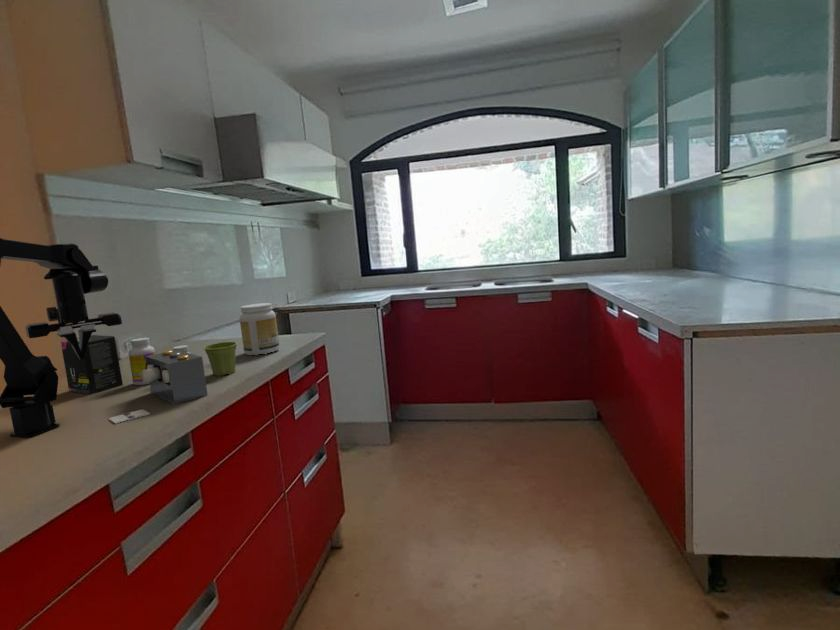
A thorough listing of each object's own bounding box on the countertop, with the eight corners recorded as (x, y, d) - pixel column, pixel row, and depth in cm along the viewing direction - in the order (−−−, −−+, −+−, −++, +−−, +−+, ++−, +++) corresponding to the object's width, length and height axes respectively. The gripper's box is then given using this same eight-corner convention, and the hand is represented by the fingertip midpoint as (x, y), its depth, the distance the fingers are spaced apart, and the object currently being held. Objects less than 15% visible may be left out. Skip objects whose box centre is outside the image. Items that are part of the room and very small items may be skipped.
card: (115, 424, 107) (114, 422, 107) (109, 419, 110) (108, 417, 110) (149, 414, 112) (149, 412, 112) (142, 410, 115) (142, 408, 115)
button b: (146, 384, 120) (144, 371, 120) (142, 382, 122) (140, 369, 122) (161, 380, 123) (159, 368, 122) (157, 378, 125) (155, 366, 124)
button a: (167, 384, 118) (165, 371, 118) (163, 382, 121) (161, 369, 120) (182, 380, 121) (180, 367, 120) (177, 378, 123) (176, 366, 123)
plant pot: (230, 377, 140) (226, 348, 139) (200, 378, 142) (196, 349, 141) (246, 368, 150) (243, 341, 148) (219, 369, 151) (215, 342, 150)
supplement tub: (283, 347, 179) (277, 301, 177) (275, 354, 167) (269, 305, 165) (249, 350, 179) (243, 304, 176) (239, 357, 167) (233, 308, 164)
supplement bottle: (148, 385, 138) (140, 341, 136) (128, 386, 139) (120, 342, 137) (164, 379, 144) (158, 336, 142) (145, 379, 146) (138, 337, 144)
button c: (152, 377, 126) (150, 365, 125) (148, 376, 128) (146, 364, 128) (166, 374, 128) (164, 362, 128) (162, 372, 131) (160, 361, 130)
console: (174, 404, 118) (168, 361, 117) (151, 392, 130) (144, 354, 129) (207, 395, 124) (201, 354, 123) (182, 384, 136) (176, 347, 134)
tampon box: (68, 391, 138) (58, 341, 136) (101, 382, 146) (93, 334, 144) (90, 394, 133) (80, 342, 131) (123, 385, 141) (115, 335, 139)
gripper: (106, 290, 130) (116, 347, 133) (17, 300, 117) (30, 363, 120) (117, 291, 122) (127, 352, 125) (22, 302, 109) (36, 369, 112)
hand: (81, 358), depth 121 cm, fingers closed
